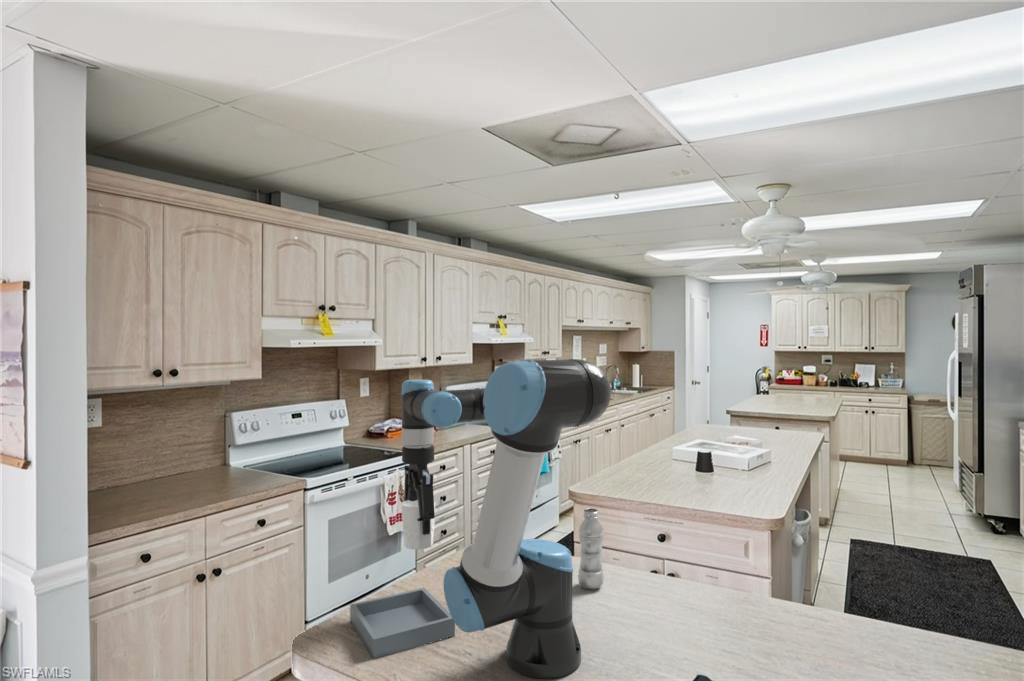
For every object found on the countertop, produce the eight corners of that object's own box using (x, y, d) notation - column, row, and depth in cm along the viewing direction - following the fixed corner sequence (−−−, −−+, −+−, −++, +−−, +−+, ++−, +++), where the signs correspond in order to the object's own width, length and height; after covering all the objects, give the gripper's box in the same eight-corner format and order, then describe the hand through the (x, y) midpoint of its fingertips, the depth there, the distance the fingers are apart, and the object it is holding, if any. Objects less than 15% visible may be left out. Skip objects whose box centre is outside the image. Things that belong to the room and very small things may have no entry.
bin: (454, 636, 128) (454, 617, 128) (373, 659, 119) (373, 639, 119) (424, 603, 144) (424, 587, 144) (350, 621, 135) (350, 604, 135)
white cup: (439, 539, 142) (439, 498, 142) (430, 551, 135) (430, 507, 135) (407, 538, 143) (407, 497, 143) (397, 550, 136) (396, 506, 136)
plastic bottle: (573, 584, 155) (573, 508, 154) (595, 580, 157) (595, 505, 157) (586, 594, 149) (586, 515, 149) (608, 589, 152) (608, 512, 151)
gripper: (449, 450, 132) (450, 552, 132) (419, 437, 150) (419, 527, 150) (416, 453, 128) (417, 559, 128) (390, 440, 146) (390, 532, 146)
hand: (418, 542), depth 139 cm, fingers closed on white cup, 7 cm apart
